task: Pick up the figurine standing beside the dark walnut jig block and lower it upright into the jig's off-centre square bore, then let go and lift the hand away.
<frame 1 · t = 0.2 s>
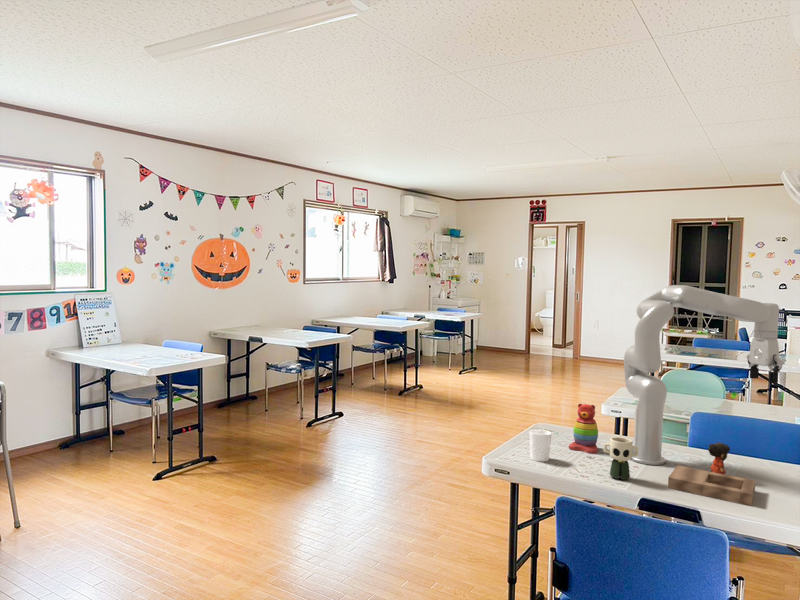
hand: (763, 380, 216), 31 cm above the table, tool pointing down, fingers open, 9 cm apart
white cup: (539, 459, 210), on the table
jig: (709, 489, 184), on the table
stacking bear: (584, 449, 226), on the table
character mug: (619, 478, 192), on the table
figurine: (718, 478, 195), on the table
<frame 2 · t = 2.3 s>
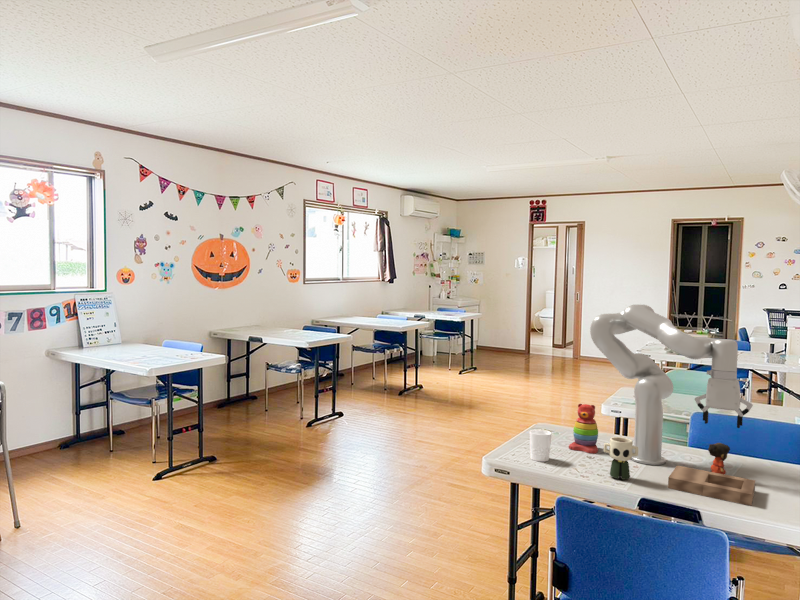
hand: (722, 425, 195), 18 cm above the table, tool pointing down, fingers open, 9 cm apart
nothing on the table moved.
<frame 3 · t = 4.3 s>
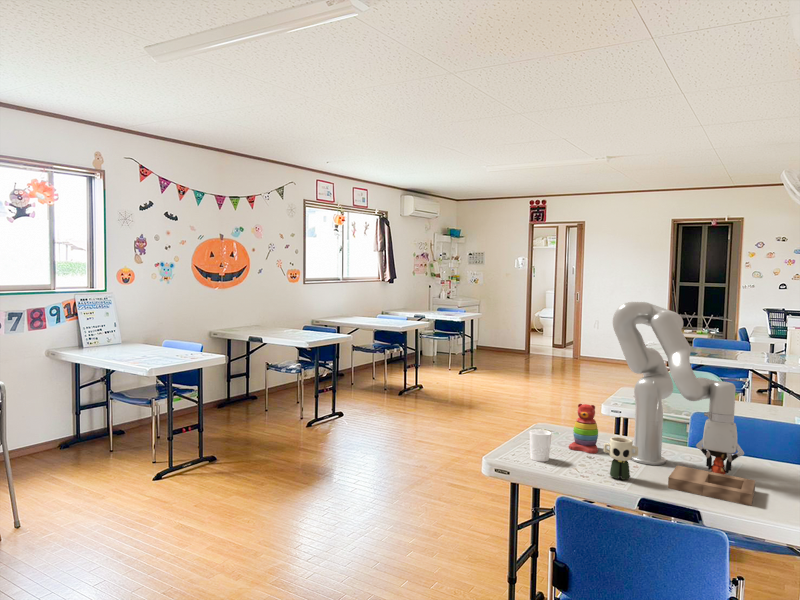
hand: (718, 469, 195), 3 cm above the table, tool pointing down, fingers closed on figurine, 4 cm apart
figurine: (718, 478, 195), on the table, touching gripper
everything else where it was.
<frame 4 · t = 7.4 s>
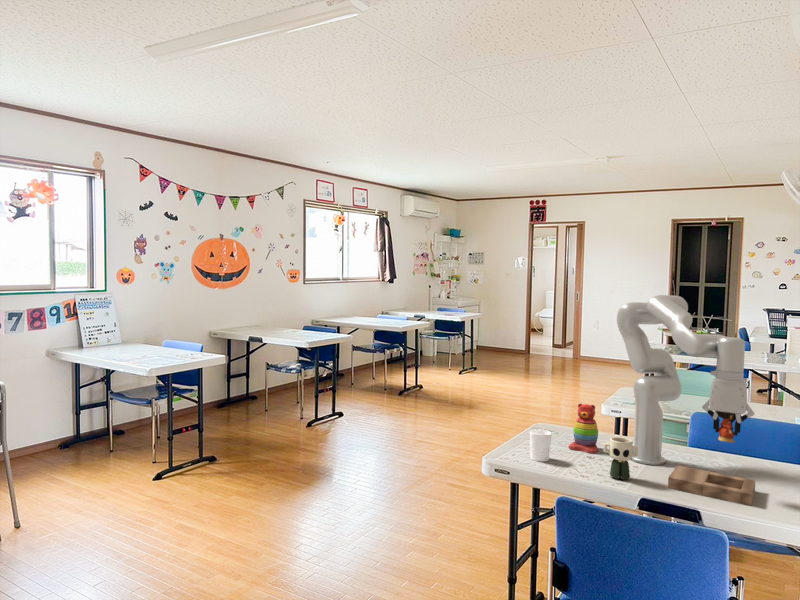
hand: (726, 432, 181), 19 cm above the table, tool pointing down, fingers closed on figurine, 4 cm apart
figurine: (726, 441, 181), point 16 cm above the table, touching gripper
everything else where it was.
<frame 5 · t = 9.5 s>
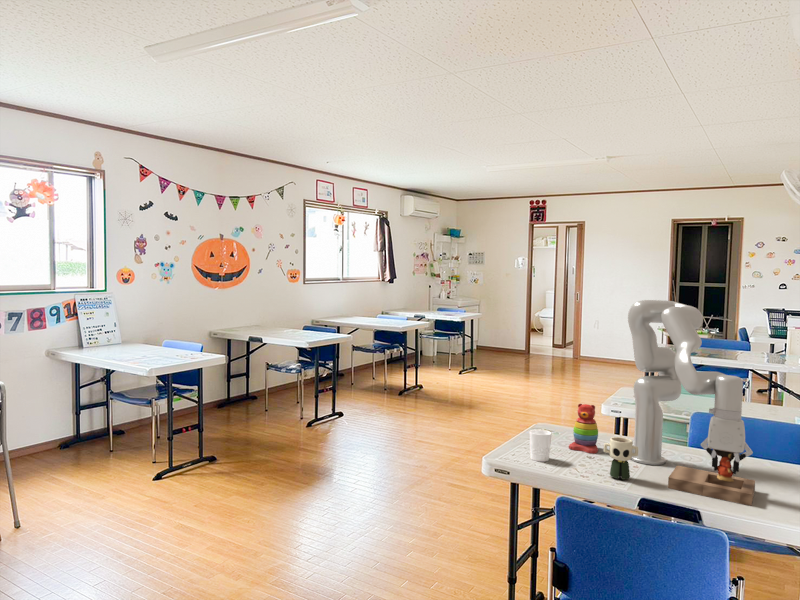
hand: (725, 470, 181), 7 cm above the table, tool pointing down, fingers closed on figurine, 4 cm apart
figurine: (725, 480, 181), point 4 cm above the table, touching gripper
everything else where it was.
when the fingers open (5 cm above the table, at t = 10.8 s): figurine drops 2 cm, resting in jig.
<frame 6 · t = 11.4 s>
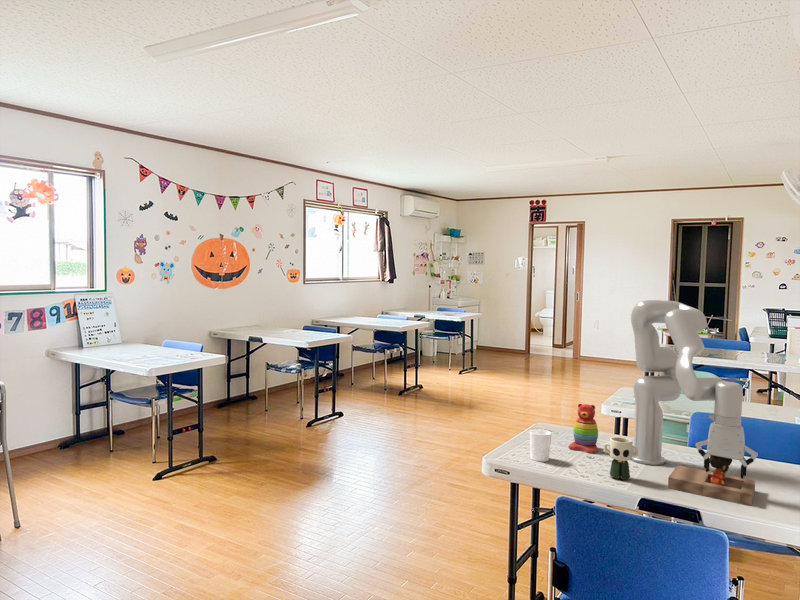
hand: (724, 474, 181), 6 cm above the table, tool pointing down, fingers open, 9 cm apart
figurine: (718, 491, 182), resting in jig, touching gripper
everything else where it was.
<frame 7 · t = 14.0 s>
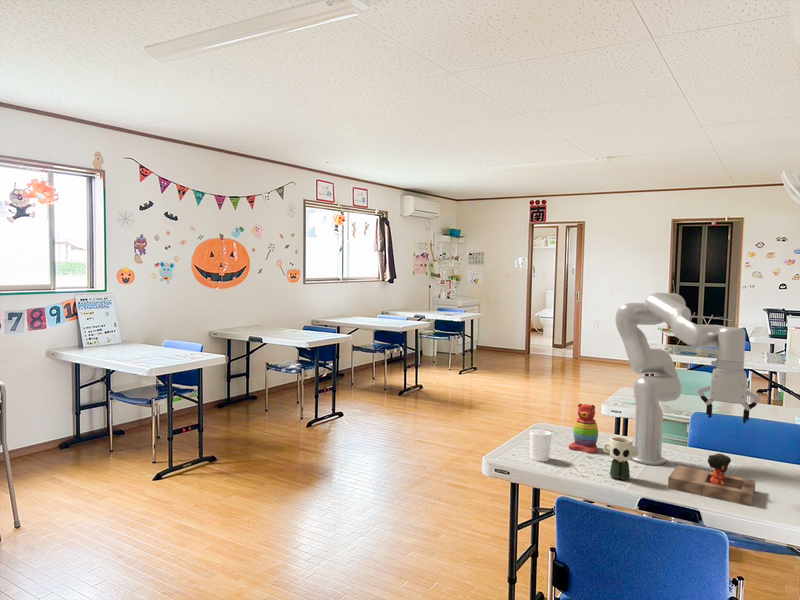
hand: (727, 419, 181), 23 cm above the table, tool pointing down, fingers open, 9 cm apart
figurine: (718, 491, 182), resting in jig
everything else where it was.
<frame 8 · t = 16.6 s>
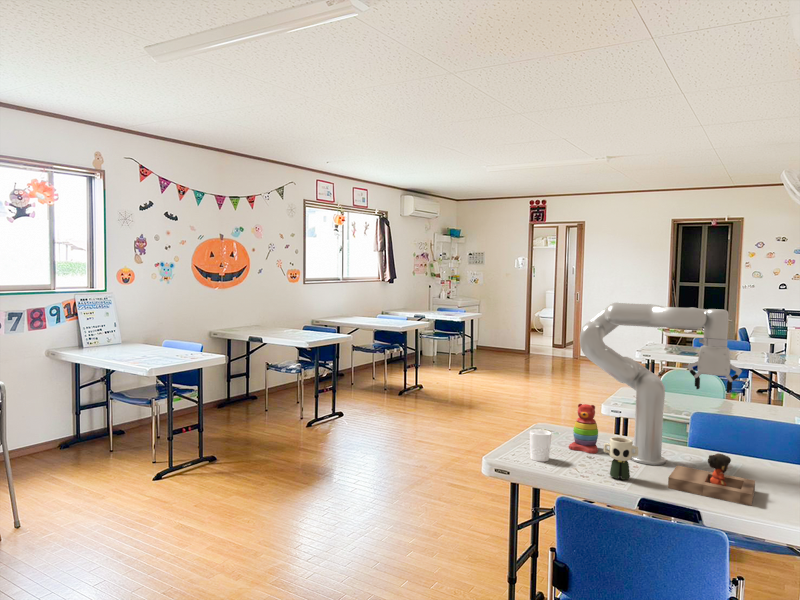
hand: (712, 390, 205), 28 cm above the table, tool pointing down, fingers open, 9 cm apart
nothing on the table moved.
at the end: figurine 1.5 cm from the target spot on the jig, point 0.0 cm above the jig's base; figurine tilted 0°; the gripper is holding nothing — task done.
